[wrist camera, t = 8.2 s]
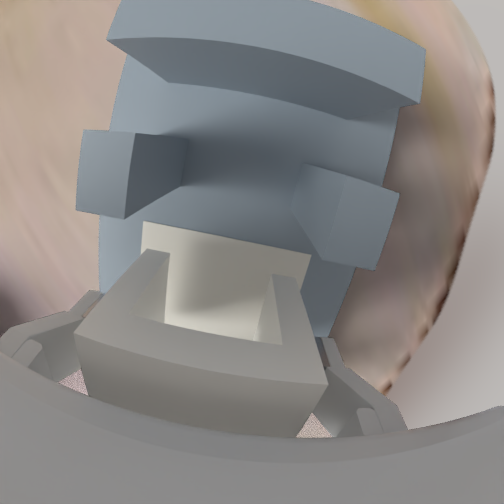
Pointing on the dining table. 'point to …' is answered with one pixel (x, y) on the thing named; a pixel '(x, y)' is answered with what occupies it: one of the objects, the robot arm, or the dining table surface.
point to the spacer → (201, 358)
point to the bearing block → (248, 153)
